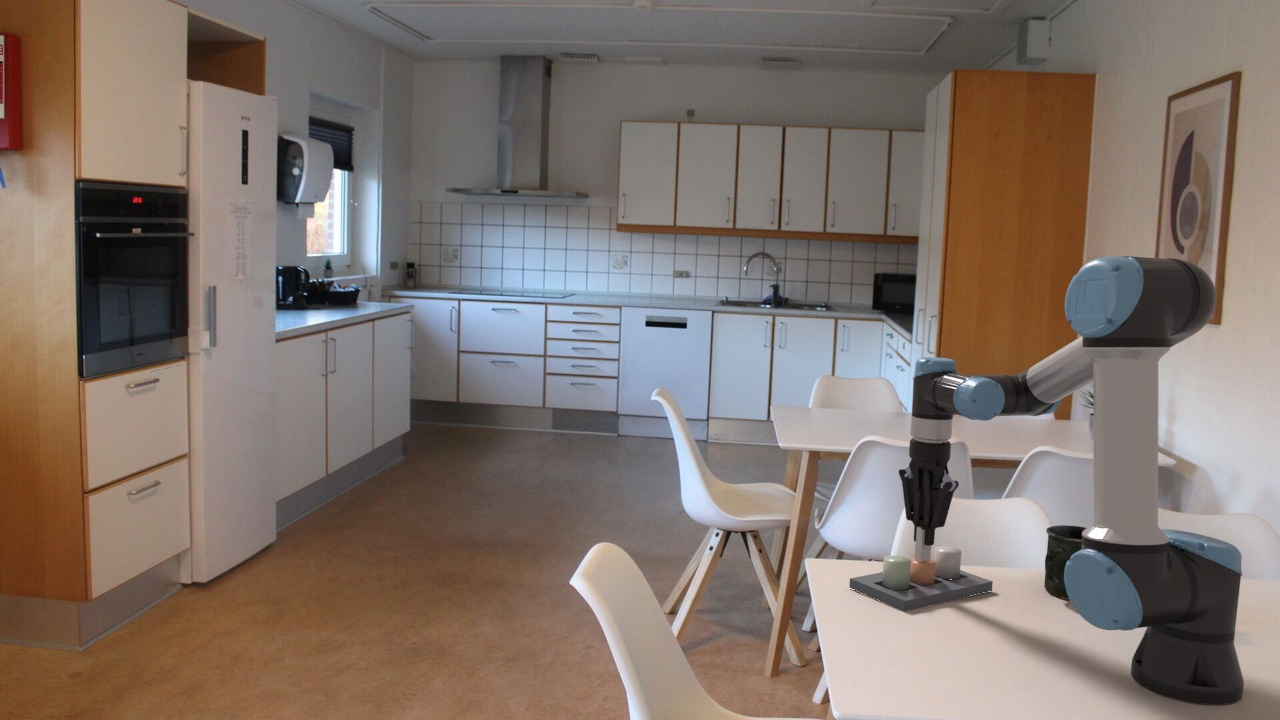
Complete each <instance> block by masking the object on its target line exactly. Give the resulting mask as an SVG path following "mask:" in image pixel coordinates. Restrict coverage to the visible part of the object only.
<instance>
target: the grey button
mask: <svg viewBox="0 0 1280 720" xmlns="http://www.w3.org/2000/svg"><path fill="white" fill-rule="evenodd" d="M933 554H934V556H933V560H934V561H935V562H936V574H935V576H937V577H941V578H942V579H945V578H946V579H945V580H948V579H956V578H959V577H960V570H961V564H962V563H961V562H962V550H961V549H960V548H957V547H953V546H946V545H945V546H943V545H942V546H941V545H940V546H935V547H934V553H933Z"/></svg>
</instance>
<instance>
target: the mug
mask: <svg viewBox="0 0 1280 720" xmlns="http://www.w3.org/2000/svg"><path fill="white" fill-rule="evenodd" d="M1086 528H1087V527H1085V526H1076V525H1066V524H1064V525H1062V524H1061V525H1052V526H1048V527H1047V528H1046V532H1045V533H1046V534H1047V548H1046V555H1045V559H1044V570H1045V572H1044V573H1045V575H1044V584H1043V585H1044V589H1045V590H1046V592H1047V593H1049V594H1050V595H1053V596H1054V597H1058V598H1061V599H1065V600H1070V599H1069V597H1068V594H1067V591H1066V587H1065V581H1064V571H1065V566H1066V563H1067V561H1068V560H1070V557H1071V556H1072V555H1073V554H1074V553H1076V552H1078V551H1080V550H1082V532H1083V531H1084V530H1085V529H1086Z"/></svg>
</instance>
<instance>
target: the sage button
mask: <svg viewBox="0 0 1280 720" xmlns="http://www.w3.org/2000/svg"><path fill="white" fill-rule="evenodd" d="M910 559H911V558H908V557H905V556H902V555H885V556H884V557H883V564H882V572H883V577H882V585H883V586H885V587H887V588H890V590H896V591H899V590H904V589H908V588H909V585H910V569H911V560H910Z"/></svg>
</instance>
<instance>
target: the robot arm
mask: <svg viewBox="0 0 1280 720" xmlns="http://www.w3.org/2000/svg"><path fill="white" fill-rule="evenodd" d="M1217 299H1218V298H1217V289H1216V287H1215V285H1214V282H1213V281H1212V278H1211V277H1210V275H1208V273H1207V272H1206V271H1205V270H1204V269H1202V267H1200V266H1198V265H1197V264H1195V263H1193V262H1191V261H1190V260H1185V259H1181V258H1159V257H1145V256H1130V255H1123V256H1122V255H1118V256H1104V257H1099V258H1095V259H1093V260H1091V261H1089V262H1087V263H1085V264H1084V265H1083V266H1081V267H1080V269H1079V271H1078V272H1077V273H1076V274H1074V276H1073V277H1072V279H1071V281H1070V283H1069V284H1068V287H1067V290H1066V294H1065V298H1064V313H1065V318H1066V320H1067V323H1070V328H1071V329H1072V330H1073V331H1074V332H1075V333H1076V334H1078V335H1079V337H1078V338H1076V339H1075V340H1073V341H1071V342H1070V343H1068V344H1067V345H1065V346H1063V347H1062V348H1060V349H1058V350H1056V351H1055V352H1053V353H1051V354H1050V355H1048V356H1047V357H1045V358H1044V359H1042V360H1041V361H1039V362H1037V363H1036V364H1034V365H1033V366H1031V367H1029V368H1027V369H1026V370H1024V371H1023V372H1020V373H1017V374H976V375H975V374H965V373H959V372H958V371H957V369H958V368H957V363H956V361H955V359H952V358H946V357H936V356H935V357H934V356H931V357H929V356H928V357H927V356H924V357H923V356H922V357H919V358H917V360H916V361H915V365H914V374H913V377H912V380H913V382H912V383H913V384H912V403H911V404H912V405H911V421H910V431H909V435H910V436H911V437H912V438H910V440H909V448H908V449H909V451H908V455H909V458H910V461H909V464H908V466H907V467H906V468H903V469H902V468H901V469H899V470H898V475H899V477H900V480H901V485H902V493H903V503H904V509H905V519H906V520H907V521H910V522H912V524H913V527H914V528H913V529H914V530H913V541H914V542H915V547H914V549H915V551H914V558H915V560H916V561H918V562H925V561H930V559H931V557H932V546H933V545H934V543H935V536H936V535H935V534H936V533H935V532H936V529H939V528H943V527H945V525H946V521H947V518H948V514H949V511H950V507H951V504H952V500H953V498H954V497H953V496H954V493H955V491H957V488H958V487H959V486H960V485H959V481H957V480H953V478H951V476H950V475H949V474H950V473H949V468H948V463H949V461H950V460H951V450H952V448H951V447H952V443H951V441H949V440H951V439H952V434H953V433H952V429H953V418H954V415H956V416H959V417H964V418H966V419H969V420H973V421H975V420H976V421H983V422H986V421H991V420H992V419H994V418H995V417H1013V416H1014V417H1015V416H1016V417H1017V416H1019V417H1020V416H1021V417H1022V416H1023V417H1025V416H1028V417H1029V416H1031V417H1039V416H1042V415H1049V414H1052V413H1054V412H1055V411H1057V410H1058V407H1059V406H1060V404H1061V403H1062V401H1063V399H1064V398H1065V397H1067V396H1069V395H1071V394H1073V393H1074V392H1077V391H1079V390H1081V389H1082V388H1084V387H1086V386H1088V385H1090V384H1091V383H1093V401H1092V402H1093V406H1092V407H1093V409H1092V411H1093V417H1092V418H1093V426H1092V427H1093V429H1092V431H1093V435H1092V436H1093V439H1092V440H1093V442H1092V443H1093V449H1092V452H1093V454H1092V455H1093V456H1092V459H1093V460H1092V461H1093V463H1092V464H1093V467H1092V468H1093V469H1092V471H1093V479H1092V480H1093V481H1092V482H1093V486H1092V490H1093V491H1092V492H1093V493H1092V496H1093V497H1092V509H1093V511H1092V513H1093V515H1092V523H1091V524H1090V525H1088V526H1087V527H1085V528H1086V529H1085V530H1084V531H1083V532H1082V550H1080V551H1078V552H1076V553H1074V554H1073V555H1072V556H1071V557H1070V560H1068V561H1067V563H1066V566H1065V571H1064V581H1065V587H1066V591H1067V594H1068V597H1069V599H1068V600H1069V601H1070V602H1071V605H1072V606H1073V607H1074V608H1075V609H1076V611H1077V612H1078V614H1079V615H1080V617H1082V619H1083V620H1085V621H1086V622H1087V623H1089V625H1092V626H1093V627H1096V628H1098V629H1101V630H1104V631H1125V632H1126V631H1132V630H1133V631H1134V630H1136V629H1141V628H1146V629H1145V631H1144V633H1143V636H1142V638H1141V640H1140V642H1139V643H1138V646H1137V648H1136V650H1135V652H1134V654H1133V656H1132V658H1131V667H1130V676H1131V678H1132V679H1133V680H1134V681H1135V682H1137V683H1138V684H1139V685H1141V686H1142V687H1144V688H1146V689H1148V690H1150V691H1151V692H1154V693H1157V694H1160V695H1162V696H1164V697H1168V698H1171V699H1174V700H1178V701H1184V702H1189V703H1193V704H1201V705H1214V706H1215V705H1216V706H1217V705H1219V706H1220V705H1229V704H1234V703H1237V702H1239V701H1240V700H1241V699H1242V698H1243V694H1244V693H1243V692H1244V685H1245V684H1244V682H1245V681H1244V677H1243V673H1242V669H1241V666H1240V662H1239V657H1238V654H1237V650H1236V646H1235V637H1236V635H1235V634H1236V633H1235V632H1236V628H1237V627H1236V625H1237V618H1238V617H1237V616H1238V606H1239V599H1240V598H1239V596H1240V588H1241V578H1242V576H1243V570H1242V559H1243V558H1242V553H1241V551H1240V550H1239V549H1238V547H1236V546H1235V545H1234V544H1232V543H1229V542H1227V541H1225V540H1222V539H1218V538H1215V537H1211V536H1207V535H1203V534H1199V533H1195V532H1189V531H1184V530H1177V529H1170V528H1162V529H1161V528H1160V526H1159V363H1160V362H1159V361H1160V360H1161V359H1162V357H1164V356H1165V355H1166V354H1167V353H1168V352H1169V351H1170V350H1171V347H1172V348H1173V347H1174V346H1175V345H1177V344H1179V343H1181V342H1184V341H1185V340H1187V339H1188V338H1190V337H1192V336H1194V335H1195V334H1197V333H1198V332H1200V331H1201V330H1202V329H1203V328H1204V327H1205V326H1206V325H1208V323H1209V322H1210V320H1211V319H1212V317H1213V315H1214V313H1215V310H1216V307H1217Z"/></svg>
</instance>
